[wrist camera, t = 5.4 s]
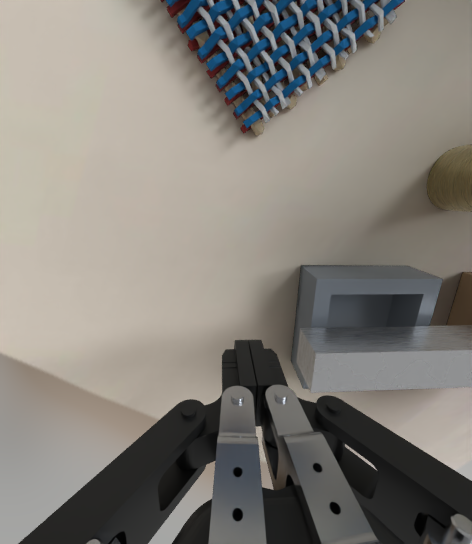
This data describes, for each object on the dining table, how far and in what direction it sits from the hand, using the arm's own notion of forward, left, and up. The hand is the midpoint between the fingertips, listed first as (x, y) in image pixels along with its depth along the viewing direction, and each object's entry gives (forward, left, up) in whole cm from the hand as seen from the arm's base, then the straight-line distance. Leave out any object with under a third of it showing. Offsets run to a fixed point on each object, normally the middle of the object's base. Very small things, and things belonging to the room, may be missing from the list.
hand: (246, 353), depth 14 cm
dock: (-8, 0, -5) cm, 10 cm away
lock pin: (-14, 0, -2) cm, 14 cm away
